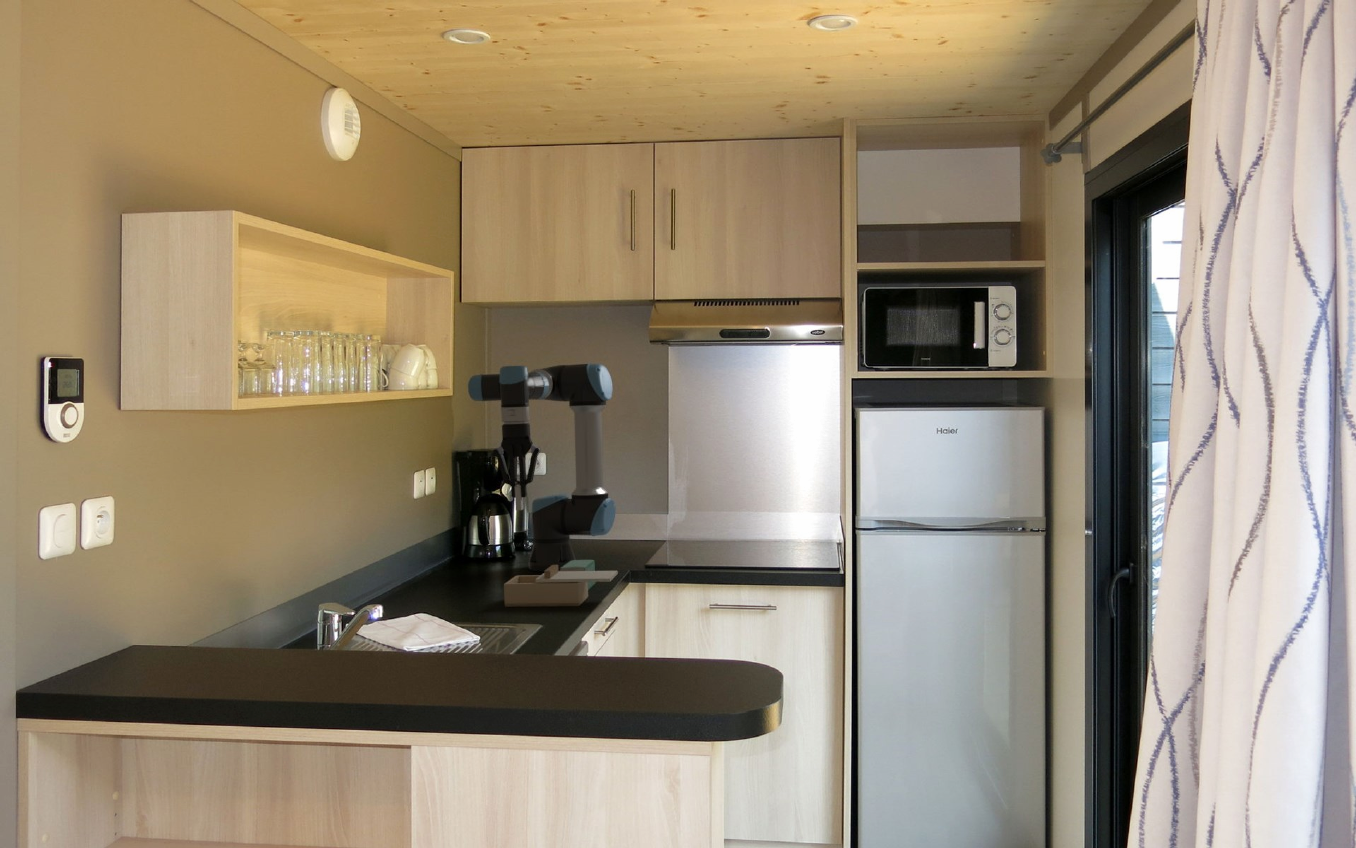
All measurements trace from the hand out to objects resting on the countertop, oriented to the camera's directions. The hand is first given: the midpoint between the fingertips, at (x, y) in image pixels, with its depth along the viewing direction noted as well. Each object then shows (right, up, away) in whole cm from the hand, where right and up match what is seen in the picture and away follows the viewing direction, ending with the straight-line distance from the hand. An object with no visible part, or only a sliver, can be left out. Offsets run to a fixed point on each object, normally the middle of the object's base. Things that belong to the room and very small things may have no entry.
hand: (519, 509), depth 276 cm
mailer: (+8, -25, -2) cm, 26 cm away
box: (+15, -24, +15) cm, 32 cm away
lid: (+16, -18, -3) cm, 24 cm away
